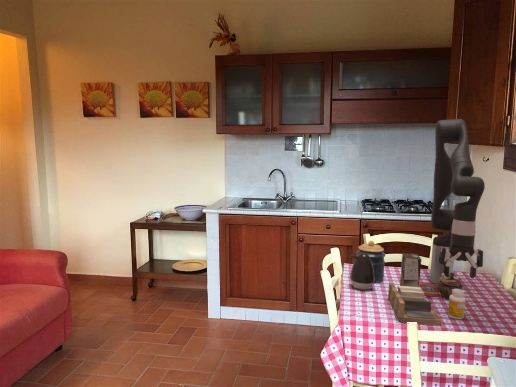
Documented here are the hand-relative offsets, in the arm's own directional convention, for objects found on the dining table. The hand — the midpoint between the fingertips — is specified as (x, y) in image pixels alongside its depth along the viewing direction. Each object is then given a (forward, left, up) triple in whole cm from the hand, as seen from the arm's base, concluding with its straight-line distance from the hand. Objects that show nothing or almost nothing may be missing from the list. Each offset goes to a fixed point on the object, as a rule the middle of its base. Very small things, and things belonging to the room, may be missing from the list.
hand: (459, 276), depth 151 cm
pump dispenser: (-24, -31, -15) cm, 42 cm away
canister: (-38, -26, -15) cm, 48 cm away
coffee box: (-21, -12, -15) cm, 28 cm away
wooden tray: (-1, -15, -15) cm, 21 cm away
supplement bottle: (0, 0, -15) cm, 15 cm away
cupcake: (-21, +4, -15) cm, 26 cm away
